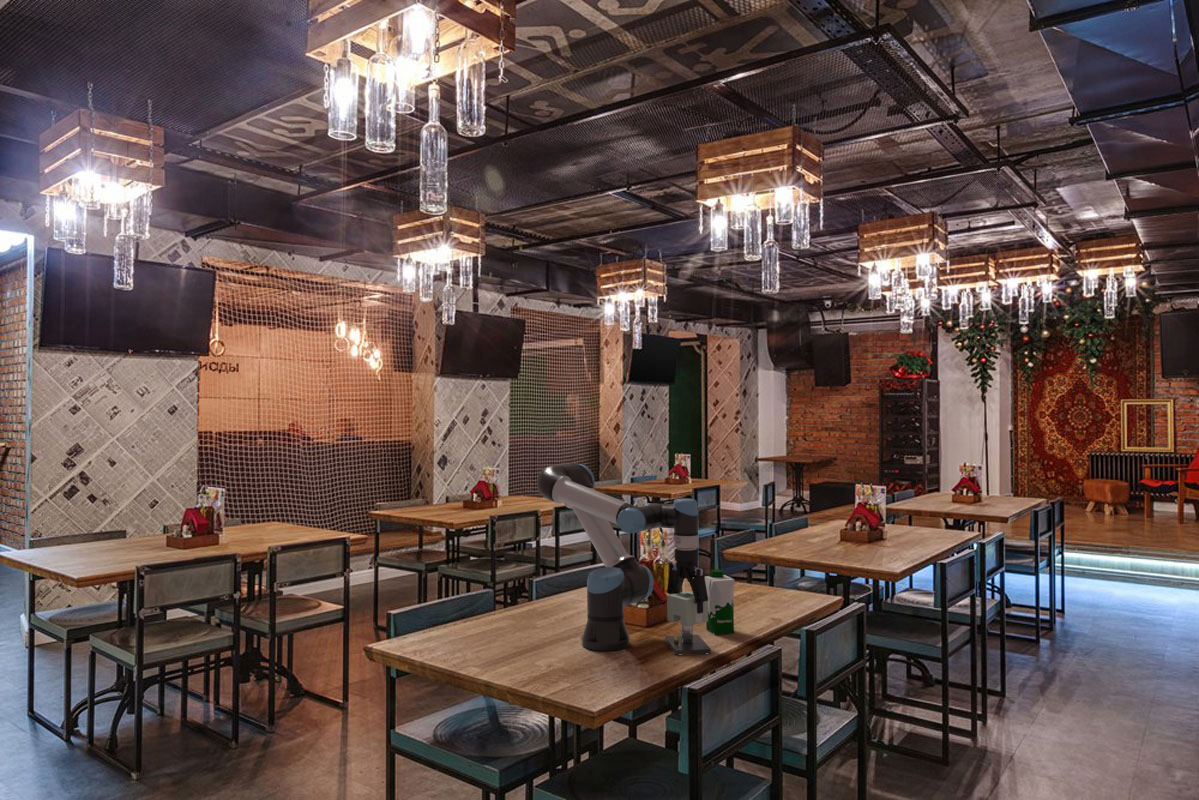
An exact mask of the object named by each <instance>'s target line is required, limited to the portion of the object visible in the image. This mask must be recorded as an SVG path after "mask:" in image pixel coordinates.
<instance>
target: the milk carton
mask: <svg viewBox="0 0 1199 800" xmlns="http://www.w3.org/2000/svg"><path fill="white" fill-rule="evenodd" d="M704 577H705V583H706V589H707V595H708V622H705V623H706V628H705V629H706V630H707V631H708V630H709V631H708V632H710V633H711V632H712V634H713V633H714V634H715V635H714V634H713V635H714V636H717V635H716V634H719V635H728V634H735V626H734V625H735V624H734V621H735V618H734V615H735V614H734V611H735V610H734V609H735V607H734V605H735V604H734V588H735V581H736V580H735V579H734V578H732V577H730V576H727V575H726V574H724V571H723V569H711V570H710V575H707V576H706V575H704Z"/></svg>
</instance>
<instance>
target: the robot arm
mask: <svg viewBox="0 0 1199 800" xmlns="http://www.w3.org/2000/svg"><path fill="white" fill-rule="evenodd" d="M536 487H537V489H538V492H539V494H540V495H541V496H542V497H543V498H544V499H546V500H549V501H551V502H553V503H556V504H564V505H565V507H566V508H568V509H572V510H573V512H574V513H575V515H576V517H577V520H578V521H579V522H580V524H581V526H582V529H583V530H584V531H585V533H586V535H587V536H588V538H589V540H590V542H591V544H592V545H593V547H594V549H595V550H596V552H597V555H598V556H599V558H600V559H601V561H602V563H603V565H604V568H603V567H600V568H596V569H593V570H592V571H591V572H589V574H588V576H587V582H586V600H587V601H586V603H587V606H586V607H587V611H586V612H587V613H586V614H587V621H586V623H585V624H586V625H585V627H584V630H583V634H582V636H581V637H582V638H581V645H583V646H584V647H583V646H582V647H583V648H585V647H586V648H585V649H587V648H588V649H587V650H590V649H592V650H591V651H596V650H599V652H615V651H621V650H624V649H626V648H628V647H630V643H631V641H630V639H631V638H630V635H629V632H628V631H629V630H628V629H627V626H626V622H625V607H627V606H630V605H633V604H637V603H641V602H642V601H644V600H647V598H649V596H650V595H651V594H652V592H653V590H654V589H653V588H654V584H655V583H654V576H653V573H652V571H651V569H650V568H648V566H646V565H643V564H639V562H638V560H637V559H636V557H635V555H630V554H628V553H627V550H626V549H625V547H624V546H623V543H622V542H621V540H620V539H619V537H618V536H617V534H616V532H615V530H614V528H613V526H612V525H611V523H613V524H615V525H617V526H618V527H619V528H620V530H621V531H622V532H624V533H626V534H637V533H641V532H644V531H648V530H653V529H659V528H665V529H673V533H674V537H673V538H674V539H673V540H674V547H675V549H674V561H675V562H674V563H673V562H672V563H670V564H669V565H668V566H669V575H668V583H667V586H666V587H667V588H666V593H667V595H670V594H675V593H680V592H681V589H682V586H683V585H684V581H685V579H686V580H687V582H688V583H689V585H690V589H691V592H693V594H694V597H695V600H696V601H695V602H694V624H695V625H698V624H703V623H702V613H703V602H705V601H708V595H707V589H706V583H705V574H706V573H705V572H706V570H705V568H699V567H698V564H697V563H698V561H699V559H700V557H699V549H698V548H699V527H698V525H699V509H698V508H699V507H698V502H697V500H696V499H695V498H694V499H693V498H675V499H674V500H673V504H667V503H657V502H653V503H652V502H651V503H649V502H647V503H644V504H643V506H636V505H634V504H630V503H628V502H626V501H623V500H621V499H618V498H615V497H613V496H611V495H609V494H606V493H603V492H600V491H597V490H596V489H595V477H594V473H593V471H591V469H590V468H589V467H588V466H587V465H584V464H581V463H573V462H572V463H568V464H557V465H556V464H555V465H554V464H553V465H549V466H547V467H544V469H542V470H541V471H540V473H539V474H538V476H537V478H536ZM703 597H704V598H703ZM699 598H700V599H699ZM620 649H621V650H620ZM614 650H615V651H614Z"/></svg>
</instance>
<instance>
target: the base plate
mask: <svg viewBox="0 0 1199 800" xmlns="http://www.w3.org/2000/svg"><path fill="white" fill-rule="evenodd" d="M680 626H681V627H680V629H681V631H680V633H681V634H680V635H679V634H678V635H676V634H675V635H665V636H664V641H665V642H666V644H667V646H668V645H669V646H668V647H669V648H671V649H672V650H671V649H670V650H671V651H672V653H673V652H674V653H673V654H674V656H680V655H679V654H698V655H707V654H706V653H711V654H712V651H711V650H712V649H711V648H710V647H709V646H708V644H707V643H706V642H705V640H704V639H703V638H702V637H701V636H700V635H699V634H694V633H693V632H694V627H693V626H694V625H691V626H684V625H680Z"/></svg>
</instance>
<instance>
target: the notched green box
mask: <svg viewBox="0 0 1199 800" xmlns="http://www.w3.org/2000/svg"><path fill="white" fill-rule="evenodd" d="M703 598H704V597H703ZM699 599H700V598H699ZM695 601H696V600H695V597H694V594H693V591H689V590H686V591H680V592H679V593H675V594H667V595H666V615H667V618H666V620H667V621H668V622H671V623H677V622H679V621H680V622H679V623H680V626H681V625H684V626H691V625H693V626H695V625H696V624H694V602H695ZM706 622H708V601H705V602H703V613H702V623H701V624H703V623H706Z"/></svg>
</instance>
